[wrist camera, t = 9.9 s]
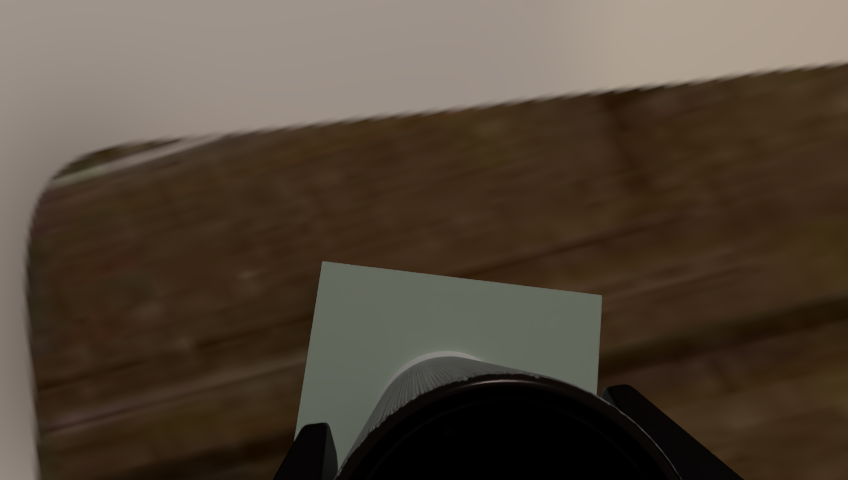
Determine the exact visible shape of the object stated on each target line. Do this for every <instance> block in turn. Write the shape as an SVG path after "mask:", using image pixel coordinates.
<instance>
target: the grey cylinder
mask: <svg viewBox="0 0 848 480" xmlns="http://www.w3.org/2000/svg"><path fill="white" fill-rule="evenodd" d="M334 480H682V479H681V478H680V476H679V475H678V473H677V471H676V470H675V468H674V466H673V465H672V464H671V462H670V461H669V459H668V458H667V457H666V455H665V454H664V453H663V451H662V450H661V449H660V448H659V447H658V445H657V444H656V443H655V442H654V441H653V439H652V438H651V437H650V436H649V435H648V434H647V433H646V432H645V431H644V430H643V429H642V428H641V427H640V426H639V425H637V424H636V423H635V422H634V421H633V420H632V419H631V418H630V417H628V416H627V415H626V414H624V413H623V412H622V411H620V410H619V409H618V408H616V407H615V406H613V405H612V404H610V403H609V402H607V401H606V400H604V399H602V398H600V397H599V396H597V395H595V394H593V393H591V392H589V391H587V390H585V389H583V388H580V387H578V386H576V385H573V384H570V383H568V382H565V381H562V380H559V379H556V378H552V377H549V376H545V375H541V374H537V373H532V372H528V371H523V370H518V369H514V368H509V367H505V366H500V365H496V364H491V363H486V362H482V361H477V360H473V359H468V358H463V357H456V356H442V357H435V358H431V359H427V360H424V361H421V362H419V363H417V364H415V365H413V366H411V367H409V368H408V369H406V370H405V371H404V372H402V373H401V374H400V375H399V376H398V377H397V378H395V379H394V380H393V382H392V383H391V384H390V385H389V386H388V388H387V389H386V390H385V392H384V393H383V395H382V397H381V398H380V400H379V402H378V403H377V405H376V407H375V409H374V410H373V412H372V414H371V415H370V417H369V419H368V421H367V422H366V424H365V426H364V427H363V429H362V431H361V432H360V434H359V436H358V438H357V439H356V441H355V443H354V444H353V446H352V448H351V450H350V451H349V453H348V455H347V456H346V458H345V460H344V462H343V463H342V465H341V467H340V469H339V471H338V472H337V474H336V476H335V478H334Z"/></svg>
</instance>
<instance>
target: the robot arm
mask: <svg viewBox="0 0 848 480" xmlns="http://www.w3.org/2000/svg"><path fill="white" fill-rule="evenodd" d="M602 399H604V400H606V401H607V402H609V403H610V404H612V405H613V406H615V407H616V408H618V409H619V410H620V411H622V412H623V413H624V414H626V415H627V416H628V417H630V418H631V419H632V420H633V421H634V422H635V423H636V424H637V425H639V426H640V427H641V428H642V429H643V430H644V431H645V432H646V433H647V434H648V435H649V436H650V437H651V438H652V439H653V441H654V442H655V443H656V444H657V445H658V447H659V448H660V449H661V450H662V451H663V453H664V454H665V455H666V457H667V458H668V459H669V461H670V462H671V464H672V465H673V466H674V468H675V470H676V471H677V473H678V475H679V476H680V478H681V479H682V480H744V479H742V478H741V477H740V476H739V475H738V474H736V473H735V472H734V471H733V470H732V469H730V468H729V467H728V466H727V465H726V464H724V463H723V462H722V461H721V460H720V459H718V458H717V457H716V456H715V455H714V454H712V453H711V452H710V451H709V450H708V449H706V448H705V447H704V446H703V445H702V444H700V443H699V442H698V441H697V440H696V439H694V438H693V437H692V436H691V435H690V434H688V433H687V432H686V431H685V430H684V429H682V428H681V427H680V426H679V425H678V424H676V423H675V422H674V421H673V420H672V419H670V418H669V417H668V416H667V415H666V414H664V413H663V412H662V411H661V410H659V409H658V408H657V407H656V406H655V405H653V404H652V403H651V402H650V401H649V400H647V399H646V398H645V397H644V396H643V395H641V394H640V393H639V392H638V391H637V390H635V389H634V388H633V387H631V386H630V385H627V384H622V385H614V386H608V387H605V389H604V390H603V393H602ZM337 472H338V460H337V452H336V448H335V444H334V440H333V436H332V433H331V429H330V426H329V424H328V423H326V422H321V423H313V424H307V425H305V426H303V427H302V428H301V430H300V432H299V433H298V435H297V437H296V439H295V441H294V442H293V444H292V446H291V448H290V450H289V451H288V453H287V455H286V457H285V459H284V460H283V462H282V464H281V466H280V468H279V469H278V471H277V473H276V475H275V477H274V478H273V480H334V478H335V476H336V474H337Z"/></svg>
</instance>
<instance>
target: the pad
mask: <svg viewBox="0 0 848 480" xmlns="http://www.w3.org/2000/svg"><path fill="white" fill-rule="evenodd" d="M601 305H602V295H594V294H586V293H578V292H570V291H562V290H553V289H545V288H537V287H529V286H520V285H512V284H504V283H496V282H488V281H479V280H471V279H463V278H455V277H447V276H438V275H430V274H422V273H414V272H406V271H397V270H389V269H381V268H373V267H365V266H356V265H348V264H340V263H332V262H324V261H322V267H321V274H320V280H319V287H318V293H317V299H316V306H315V312H314V318H313V325H312V331H311V337H310V344H309V350H308V357H307V363H306V369H305V376H304V382H303V388H302V395H301V401H300V408H299V414H298V420H297V427H296V433H295V439H296V437H297V435H298V433H299V432H300V430H301V428H302V427H303V426H305V425H307V424H313V423H321V422H326V423H328V424H329V426H330V429H331V433H332V436H333V440H334V444H335V448H336V452H337V460H338V471H339V469H340V467H341V465H342V463H343V462H344V460H345V458H346V456H347V455H348V453H349V451H350V450H351V448H352V446H353V444H354V443H355V441H356V439H357V438H358V436H359V434H360V432H361V431H362V429H363V427H364V426H365V424H366V422H367V421H368V419H369V417H370V415H371V414H372V412H373V410H374V409H375V407H376V405H377V403H378V402H379V400H380V398H381V397H382V395H383V393H384V392H385V390H386V389H387V388H388V386H389V385H390V384H391V383H392V382H393V380H394V379H395V378H397V377H398V376H399V375H400V374H401V373H402V372H404V371H405V370H406V369H408V368H409V367H411V366H413V365H415V364H417V363H419V362H421V361H424V360H427V359H431V358H435V357H442V356H456V357H463V358H468V359H473V360H477V361H482V362H486V363H491V364H496V365H500V366H505V367H509V368H514V369H518V370H523V371H528V372H532V373H537V374H541V375H545V376H549V377H552V378H556V379H559V380H562V381H565V382H568V383H570V384H573V385H576V386H578V387H580V388H583V389H585V390H587V391H589V392H591V393H593V394H595V395H597V377H598V359H599V341H600V323H601ZM295 439H294V441H295Z"/></svg>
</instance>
